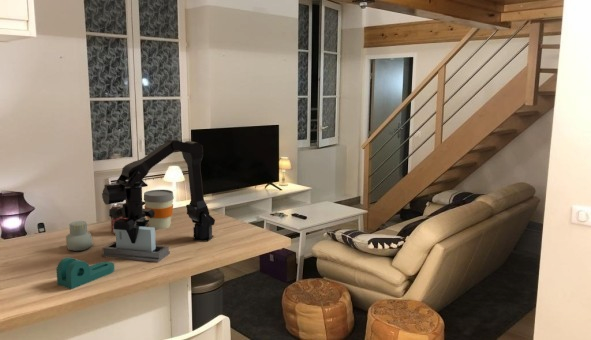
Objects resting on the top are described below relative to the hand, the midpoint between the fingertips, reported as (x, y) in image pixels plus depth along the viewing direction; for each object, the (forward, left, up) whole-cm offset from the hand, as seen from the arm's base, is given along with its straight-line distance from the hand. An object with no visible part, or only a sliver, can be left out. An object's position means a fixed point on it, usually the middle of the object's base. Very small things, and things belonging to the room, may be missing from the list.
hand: (135, 241), depth 178 cm
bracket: (+4, +22, -6) cm, 23 cm away
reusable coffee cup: (+9, -35, -5) cm, 36 cm away
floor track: (0, 0, -5) cm, 5 cm away
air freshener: (+24, -1, -5) cm, 25 cm away
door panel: (0, 0, -2) cm, 3 cm away
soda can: (+20, -22, -5) cm, 30 cm away
